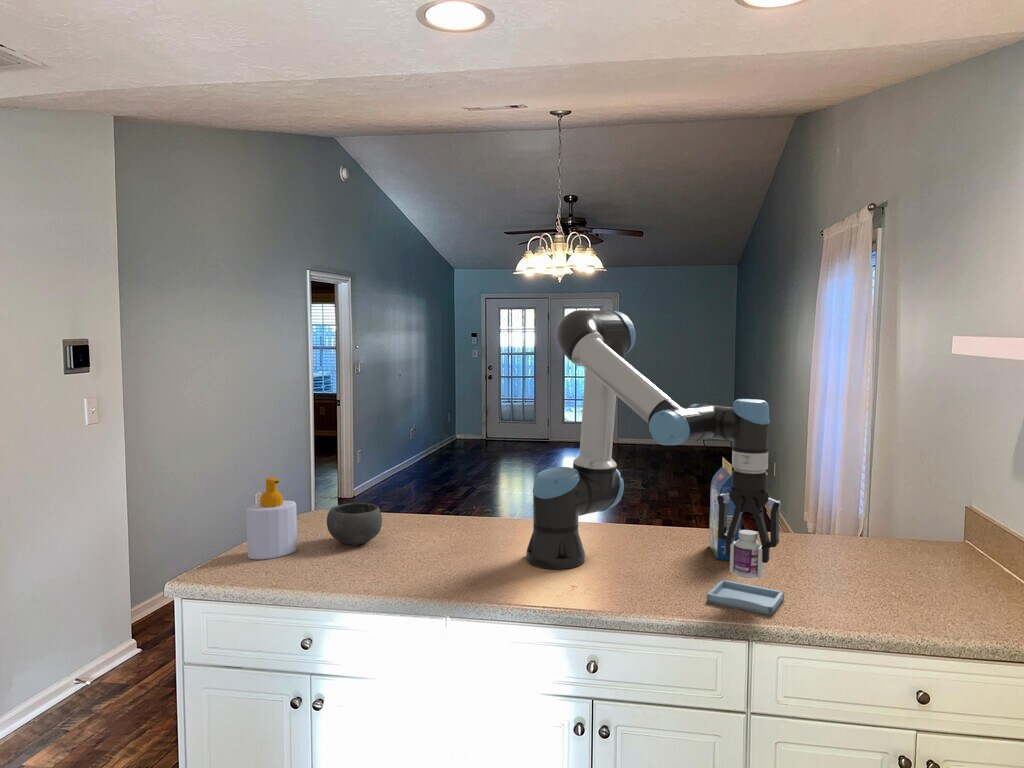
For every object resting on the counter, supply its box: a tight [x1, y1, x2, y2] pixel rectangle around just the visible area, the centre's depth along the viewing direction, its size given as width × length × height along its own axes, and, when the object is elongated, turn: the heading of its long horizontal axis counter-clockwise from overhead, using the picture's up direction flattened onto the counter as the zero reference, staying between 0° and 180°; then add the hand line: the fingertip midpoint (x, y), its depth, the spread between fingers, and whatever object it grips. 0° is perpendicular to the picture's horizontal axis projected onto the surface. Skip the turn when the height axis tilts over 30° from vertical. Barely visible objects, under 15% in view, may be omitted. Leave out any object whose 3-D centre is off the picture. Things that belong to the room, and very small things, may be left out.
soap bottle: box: [246, 476, 298, 561], centre depth 193 cm, size 13×8×20 cm, turn 131°
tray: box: [706, 579, 785, 617], centre depth 163 cm, size 14×11×2 cm
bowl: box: [326, 502, 383, 546], centre depth 204 cm, size 15×15×10 cm
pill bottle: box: [733, 529, 761, 579], centre depth 162 cm, size 5×5×10 cm
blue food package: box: [708, 457, 743, 561], centre depth 195 cm, size 6×12×25 cm, turn 175°
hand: (746, 573), depth 162 cm, fingers closed on pill bottle, 5 cm apart
